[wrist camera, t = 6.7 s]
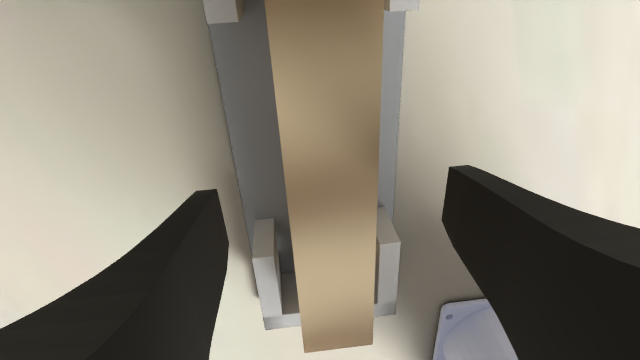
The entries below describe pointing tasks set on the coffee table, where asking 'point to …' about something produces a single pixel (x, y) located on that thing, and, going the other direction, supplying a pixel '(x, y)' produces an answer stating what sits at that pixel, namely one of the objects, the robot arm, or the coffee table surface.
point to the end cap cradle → (266, 156)
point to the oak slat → (330, 158)
